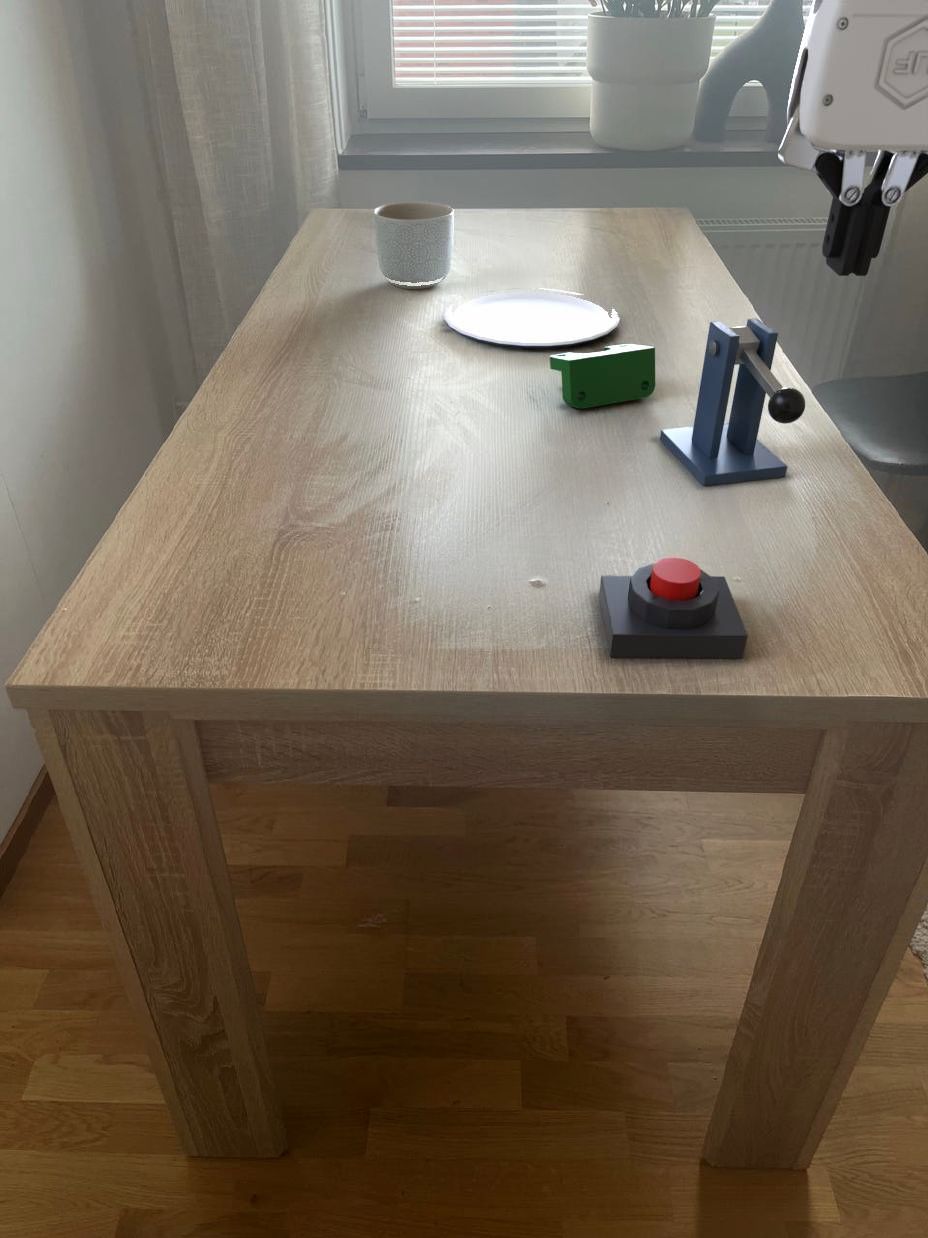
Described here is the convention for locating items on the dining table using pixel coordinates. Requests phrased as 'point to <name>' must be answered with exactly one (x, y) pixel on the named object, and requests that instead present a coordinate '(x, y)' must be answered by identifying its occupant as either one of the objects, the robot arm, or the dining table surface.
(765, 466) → the bracket
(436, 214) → the planter
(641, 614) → the button box
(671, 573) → the button
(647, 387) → the green mounting block
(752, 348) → the lever
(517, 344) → the plate
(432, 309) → the dining table surface
